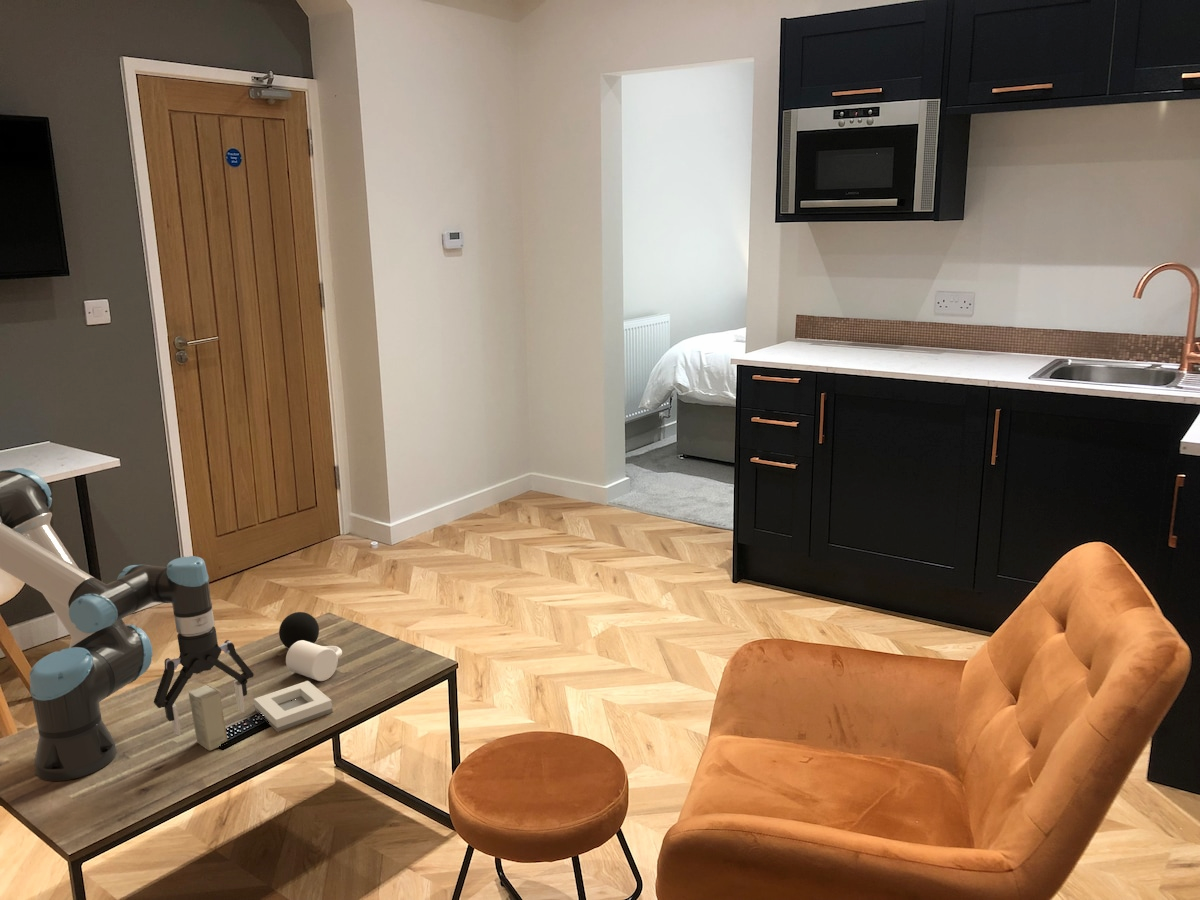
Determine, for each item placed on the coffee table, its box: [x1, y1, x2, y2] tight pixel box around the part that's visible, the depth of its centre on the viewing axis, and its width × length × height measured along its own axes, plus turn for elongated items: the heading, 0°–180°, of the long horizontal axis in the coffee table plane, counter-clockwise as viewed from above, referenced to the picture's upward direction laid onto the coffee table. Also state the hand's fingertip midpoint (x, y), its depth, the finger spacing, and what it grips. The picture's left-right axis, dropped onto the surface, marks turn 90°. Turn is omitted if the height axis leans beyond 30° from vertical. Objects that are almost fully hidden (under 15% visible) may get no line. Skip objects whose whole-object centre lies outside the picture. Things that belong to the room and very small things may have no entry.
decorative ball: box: [278, 611, 320, 649], centre depth 255 cm, size 10×10×10 cm
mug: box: [285, 640, 343, 682], centre depth 242 cm, size 12×10×8 cm
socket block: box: [253, 680, 334, 733], centre depth 223 cm, size 13×13×3 cm
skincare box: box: [188, 684, 228, 751], centre depth 210 cm, size 6×4×12 cm
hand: (210, 721), depth 210 cm, fingers open, 13 cm apart
